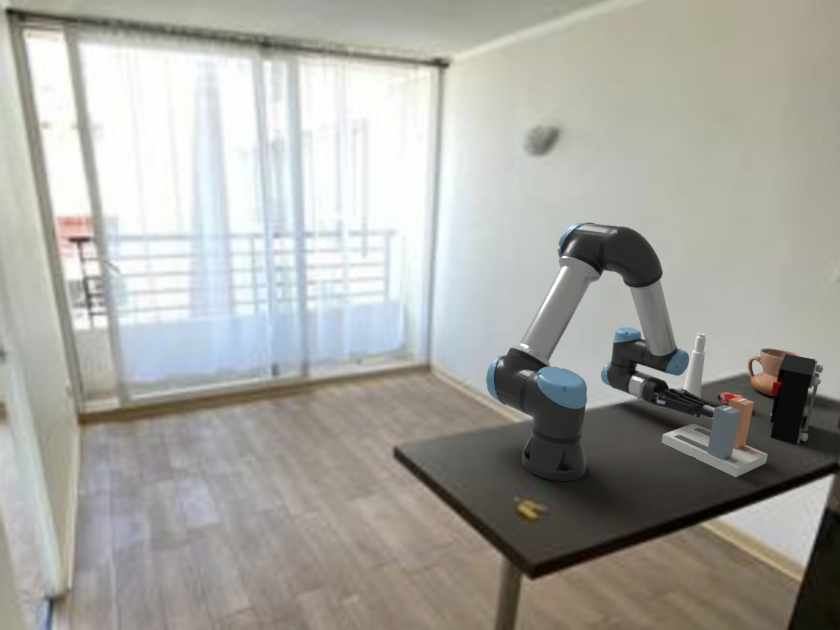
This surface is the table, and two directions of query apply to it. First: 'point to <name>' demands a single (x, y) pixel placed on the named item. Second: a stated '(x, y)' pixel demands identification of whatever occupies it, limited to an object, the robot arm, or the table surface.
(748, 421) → the terracotta switch
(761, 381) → the ceramic jug
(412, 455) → the table surface
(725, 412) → the slate switch
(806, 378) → the electrical component
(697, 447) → the switch plate
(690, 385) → the cosmetic bottle
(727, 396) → the race car
